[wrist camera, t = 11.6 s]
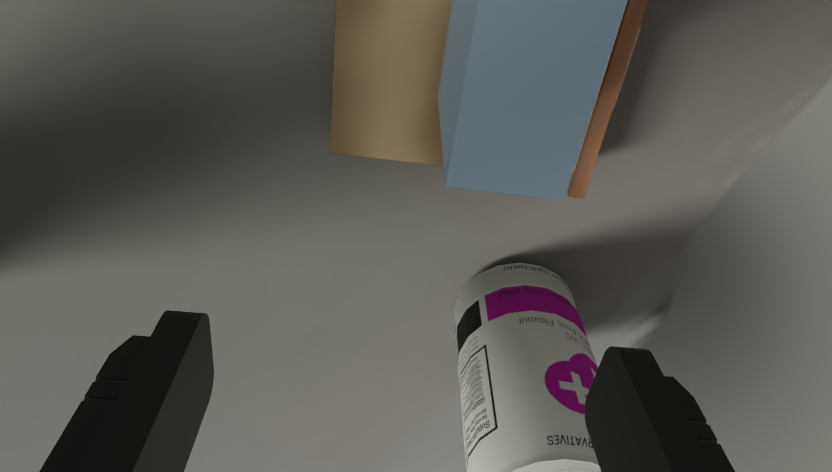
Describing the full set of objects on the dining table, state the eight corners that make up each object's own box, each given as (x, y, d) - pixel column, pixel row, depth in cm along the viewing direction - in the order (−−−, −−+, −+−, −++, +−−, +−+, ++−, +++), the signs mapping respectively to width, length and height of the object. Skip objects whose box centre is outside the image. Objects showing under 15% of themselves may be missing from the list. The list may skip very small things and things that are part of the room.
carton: (464, -77, 26) (486, -46, 17) (572, -61, 26) (646, -23, 18) (437, 95, 30) (445, 186, 22) (531, 107, 30) (574, 201, 22)
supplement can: (527, 235, 37) (583, 426, 25) (592, 310, 41) (670, 511, 28) (430, 297, 40) (435, 496, 28) (498, 362, 44) (530, 566, 31)
